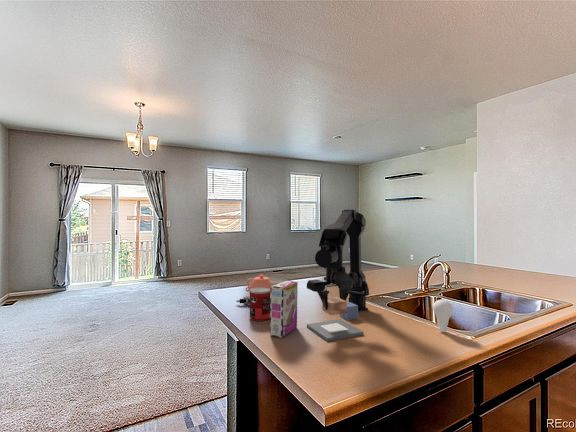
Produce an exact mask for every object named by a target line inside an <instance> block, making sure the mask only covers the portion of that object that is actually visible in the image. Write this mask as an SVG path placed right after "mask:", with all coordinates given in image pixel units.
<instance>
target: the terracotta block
mask: <svg viewBox="0 0 576 432" xmlns="http://www.w3.org/2000/svg"><path fill="white" fill-rule="evenodd" d="M321 303H322V302H321ZM347 303H348V302H347V300H346V301H345V300H343V299H340V297H338V296H336V297H328V310H325V308H324V306H323V303H322V306H321V308H322V311H323V312H325V313H326V314H329V315H330V316H336V315H340V314H345V313H347Z"/></svg>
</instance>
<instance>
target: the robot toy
mask: <svg viewBox="0 0 576 432" xmlns="http://www.w3.org/2000/svg"><path fill="white" fill-rule="evenodd" d="M236 303H239V304H246V305H248V306H250V294H247V295H244V296H243V298H240V299H237V300H236ZM270 305H271V295H270Z"/></svg>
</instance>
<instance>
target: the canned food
mask: <svg viewBox="0 0 576 432" xmlns="http://www.w3.org/2000/svg"><path fill="white" fill-rule="evenodd" d="M249 295H250V305H249V319H250V320H252V321H255V322H264V321H268V320H270V312H271V304H270V289H268V288H252V289H250V292H249Z"/></svg>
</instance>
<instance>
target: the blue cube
mask: <svg viewBox="0 0 576 432" xmlns="http://www.w3.org/2000/svg"><path fill="white" fill-rule="evenodd" d="M339 317H341V318H343V319H344V320H346V321H349V320H357V319H359V311H358V305H355V304H353V303H351V302H349V301H348V302H347V313H345V314H339Z"/></svg>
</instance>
